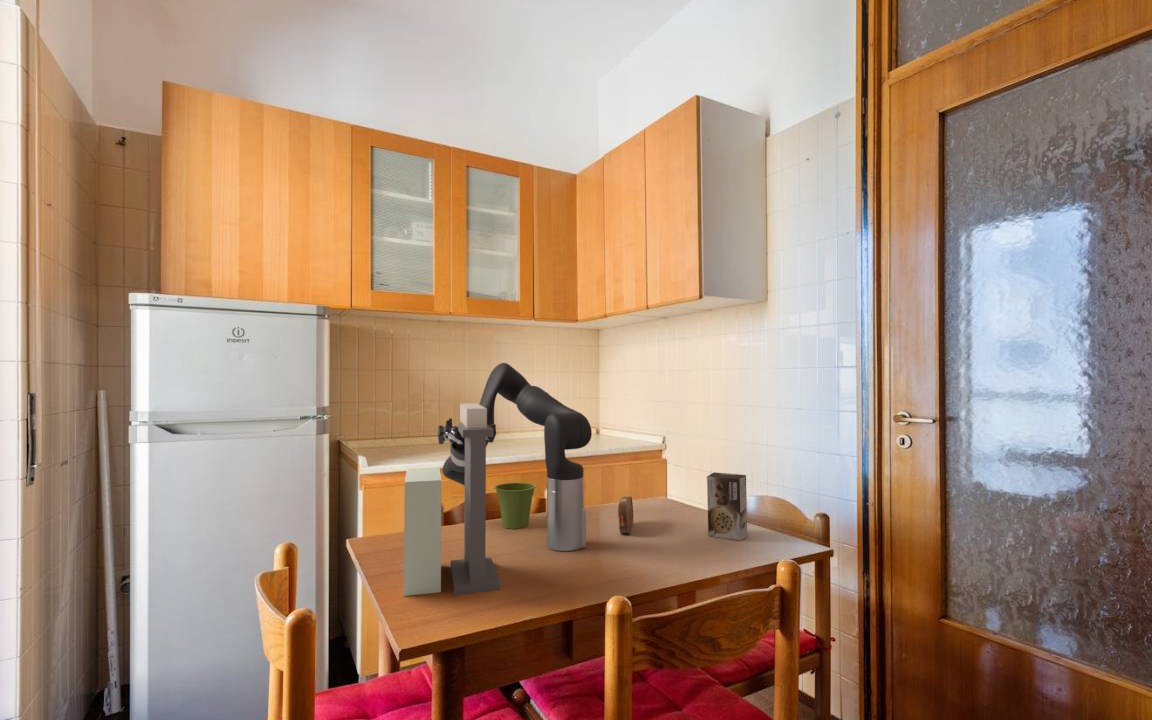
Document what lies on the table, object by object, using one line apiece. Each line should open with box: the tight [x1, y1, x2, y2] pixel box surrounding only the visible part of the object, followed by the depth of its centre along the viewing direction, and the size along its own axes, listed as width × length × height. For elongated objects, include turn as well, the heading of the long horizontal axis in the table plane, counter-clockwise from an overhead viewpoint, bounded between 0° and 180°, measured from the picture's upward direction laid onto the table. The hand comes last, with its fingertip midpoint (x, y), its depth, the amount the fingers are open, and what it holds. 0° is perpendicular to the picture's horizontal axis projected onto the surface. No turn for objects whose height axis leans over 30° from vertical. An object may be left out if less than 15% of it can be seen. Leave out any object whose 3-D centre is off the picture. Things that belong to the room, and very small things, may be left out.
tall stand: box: [450, 422, 501, 596], centre depth 116 cm, size 9×16×32 cm, turn 15°
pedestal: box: [403, 466, 443, 597], centre depth 115 cm, size 7×16×22 cm, turn 15°
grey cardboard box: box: [706, 472, 748, 541], centre depth 147 cm, size 9×6×16 cm
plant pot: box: [494, 482, 537, 530], centre depth 156 cm, size 12×12×11 cm
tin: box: [617, 496, 634, 535], centre depth 153 cm, size 15×3×8 cm, turn 168°
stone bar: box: [459, 402, 487, 429], centre depth 123 cm, size 4×22×4 cm, turn 15°
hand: (468, 421), depth 133 cm, fingers open, 8 cm apart
